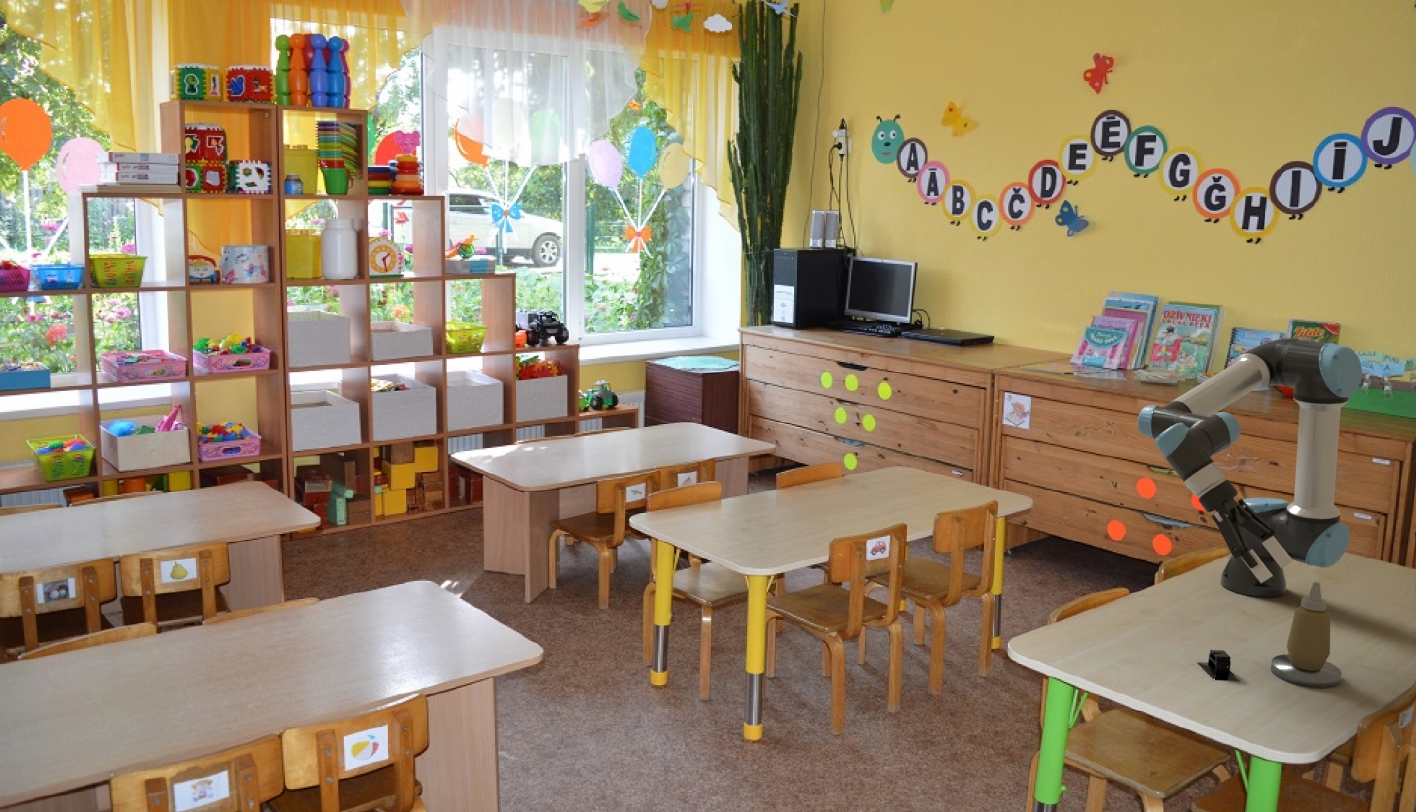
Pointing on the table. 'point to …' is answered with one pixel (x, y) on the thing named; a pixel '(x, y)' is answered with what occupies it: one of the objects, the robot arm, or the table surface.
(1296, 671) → the cap
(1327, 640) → the squeeze bottle
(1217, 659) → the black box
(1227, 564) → the robot arm
